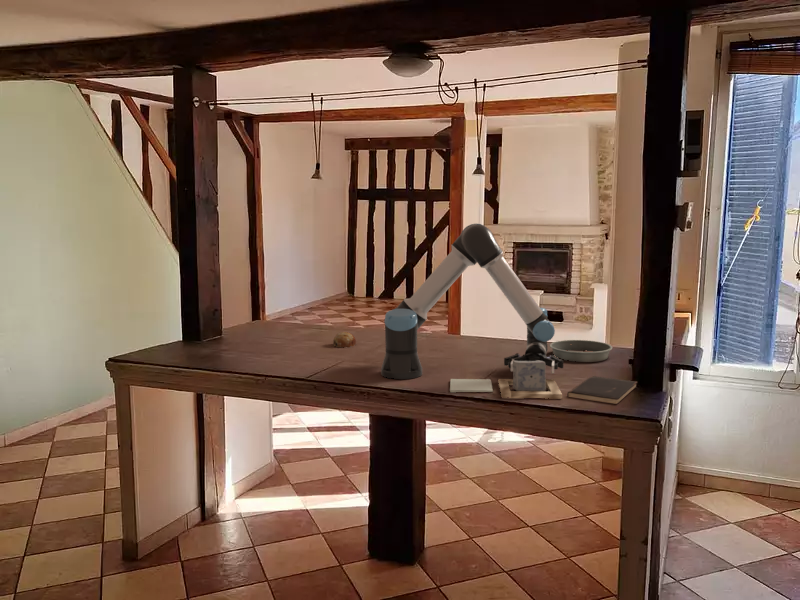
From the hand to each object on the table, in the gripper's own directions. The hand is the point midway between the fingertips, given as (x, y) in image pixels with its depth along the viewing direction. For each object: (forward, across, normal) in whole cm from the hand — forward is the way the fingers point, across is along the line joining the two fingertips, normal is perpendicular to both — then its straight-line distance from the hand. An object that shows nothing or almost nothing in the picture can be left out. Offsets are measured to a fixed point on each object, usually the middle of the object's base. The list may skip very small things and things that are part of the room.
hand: (532, 368), depth 223 cm
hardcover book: (+1, -23, -7) cm, 24 cm away
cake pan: (-51, -16, -7) cm, 54 cm away
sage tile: (+4, +20, -6) cm, 21 cm away
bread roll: (-52, +85, -7) cm, 100 cm away
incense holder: (+5, +1, -7) cm, 8 cm away
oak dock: (+5, +1, -6) cm, 8 cm away
